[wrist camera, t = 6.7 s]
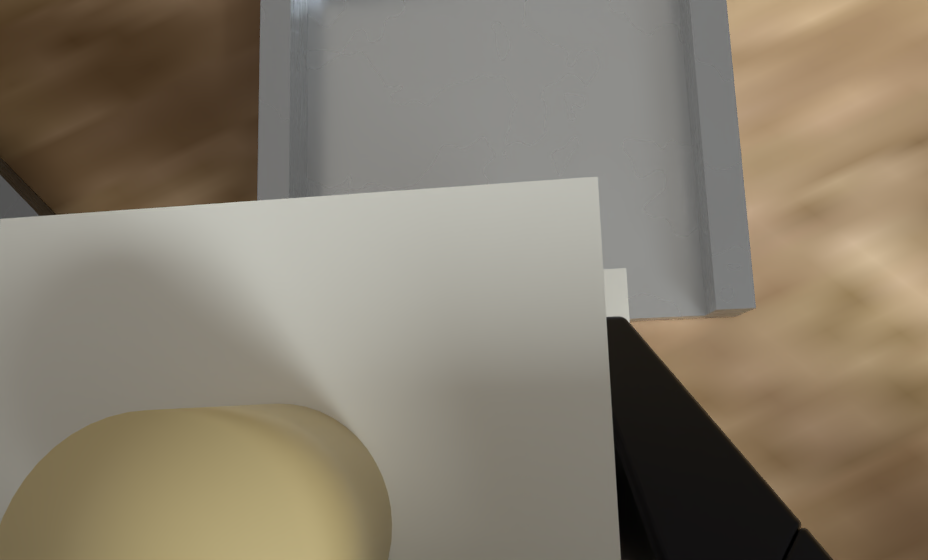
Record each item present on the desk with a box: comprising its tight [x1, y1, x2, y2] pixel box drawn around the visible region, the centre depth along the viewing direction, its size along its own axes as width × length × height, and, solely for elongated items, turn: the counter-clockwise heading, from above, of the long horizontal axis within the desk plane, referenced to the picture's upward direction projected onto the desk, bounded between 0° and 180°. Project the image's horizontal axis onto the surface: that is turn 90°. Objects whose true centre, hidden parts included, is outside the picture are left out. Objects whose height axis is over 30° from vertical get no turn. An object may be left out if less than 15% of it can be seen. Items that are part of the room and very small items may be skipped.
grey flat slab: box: [257, 0, 756, 321], centre depth 22 cm, size 13×14×2 cm
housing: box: [0, 177, 630, 560], centre depth 9 cm, size 6×6×12 cm
